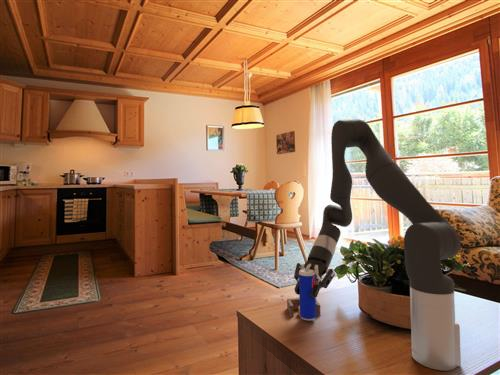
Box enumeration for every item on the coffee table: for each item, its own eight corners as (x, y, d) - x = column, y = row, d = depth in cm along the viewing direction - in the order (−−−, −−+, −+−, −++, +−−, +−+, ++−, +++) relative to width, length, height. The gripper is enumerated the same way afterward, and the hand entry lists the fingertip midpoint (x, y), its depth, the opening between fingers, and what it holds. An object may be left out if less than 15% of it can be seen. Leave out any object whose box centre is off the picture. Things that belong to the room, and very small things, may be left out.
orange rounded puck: (308, 312, 103) (308, 304, 103) (312, 316, 99) (312, 309, 99) (297, 312, 102) (297, 305, 102) (300, 317, 98) (300, 309, 98)
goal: (315, 307, 107) (315, 297, 107) (320, 315, 100) (320, 305, 100) (287, 308, 106) (287, 298, 106) (290, 316, 99) (290, 305, 99)
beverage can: (316, 321, 93) (315, 273, 93) (299, 320, 94) (298, 272, 94) (316, 314, 98) (314, 268, 98) (300, 313, 99) (299, 268, 99)
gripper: (300, 242, 107) (280, 284, 98) (338, 247, 97) (320, 294, 88) (308, 255, 110) (290, 296, 101) (345, 260, 101) (329, 306, 92)
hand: (304, 295), depth 95 cm, fingers closed on beverage can, 5 cm apart
